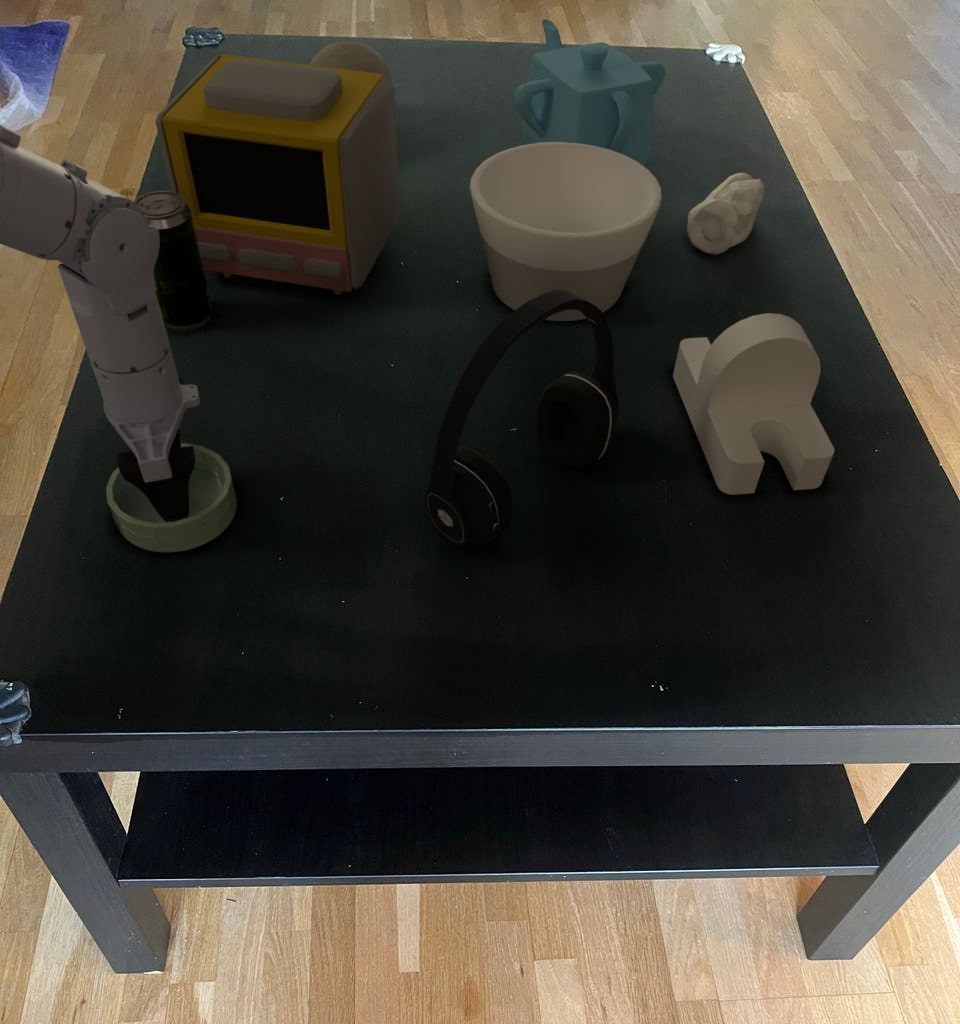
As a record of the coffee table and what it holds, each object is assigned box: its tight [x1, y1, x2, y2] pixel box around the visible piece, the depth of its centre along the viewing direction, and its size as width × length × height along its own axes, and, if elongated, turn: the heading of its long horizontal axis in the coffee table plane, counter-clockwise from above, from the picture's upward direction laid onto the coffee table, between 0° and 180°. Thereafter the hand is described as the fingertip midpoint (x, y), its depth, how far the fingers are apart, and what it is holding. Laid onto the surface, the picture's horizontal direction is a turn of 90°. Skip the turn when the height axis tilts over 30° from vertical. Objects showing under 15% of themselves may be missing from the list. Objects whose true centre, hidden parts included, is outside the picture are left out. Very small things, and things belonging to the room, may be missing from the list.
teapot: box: [512, 18, 666, 168], centre depth 115 cm, size 18×16×14 cm
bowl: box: [469, 142, 663, 322], centre depth 100 cm, size 19×19×11 cm
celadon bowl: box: [105, 442, 238, 553], centre depth 80 cm, size 10×10×3 cm
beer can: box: [132, 190, 213, 332], centre depth 94 cm, size 5×5×12 cm
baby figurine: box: [686, 172, 765, 255], centre depth 109 cm, size 9×12×8 cm
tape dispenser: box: [672, 312, 835, 496], centre depth 86 cm, size 10×18×11 cm, turn 7°
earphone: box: [424, 290, 620, 547], centre depth 76 cm, size 20×7×18 cm, turn 137°
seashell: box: [308, 40, 393, 83], centre depth 120 cm, size 15×14×15 cm
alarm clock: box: [154, 53, 401, 295], centre depth 98 cm, size 20×16×18 cm
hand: (172, 489), depth 80 cm, fingers closed on eraser, 6 cm apart
